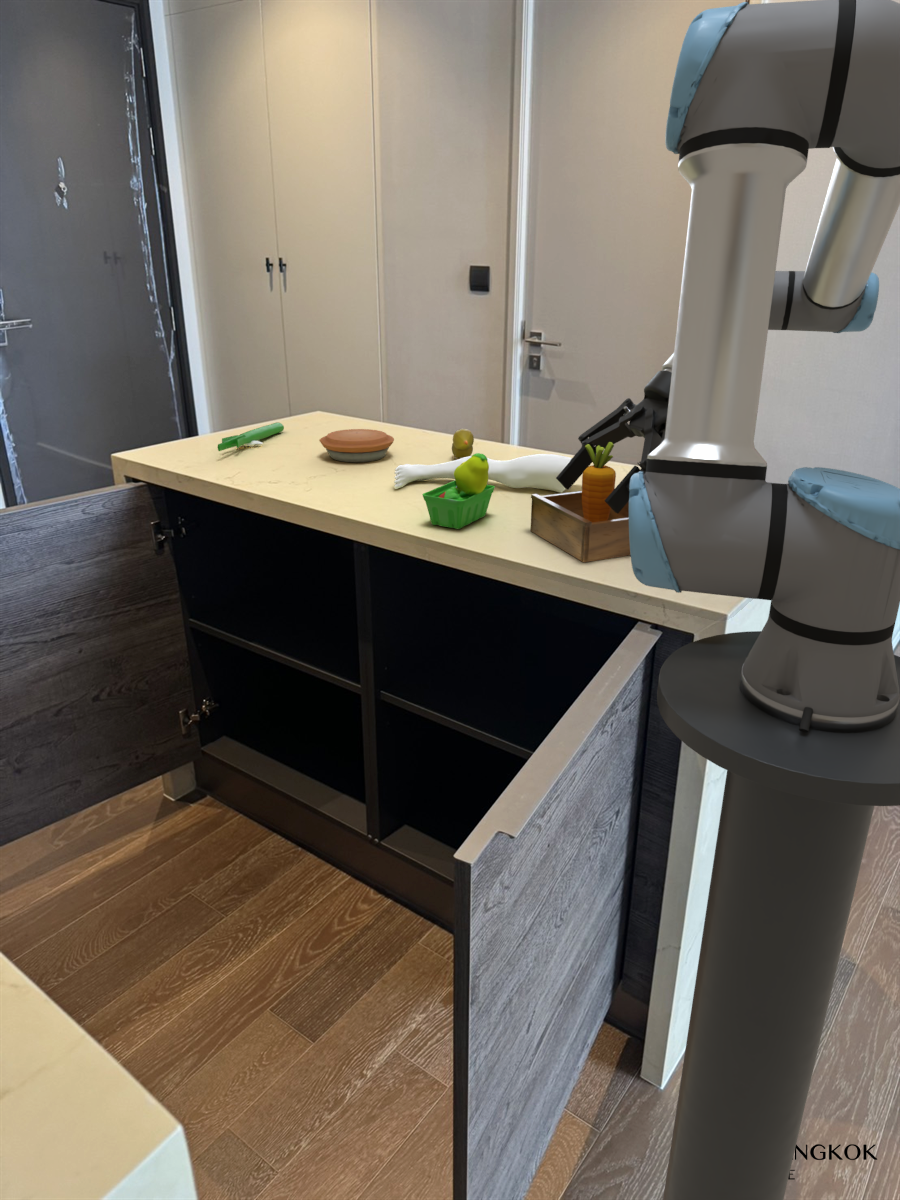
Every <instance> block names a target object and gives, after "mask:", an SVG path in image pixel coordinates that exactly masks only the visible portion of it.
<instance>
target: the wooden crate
mask: <svg viewBox="0 0 900 1200" xmlns="http://www.w3.org/2000/svg"><path fill="white" fill-rule="evenodd" d="M530 498H531V508H530V509H531V510H530V511H531V512H530V532H531V533H533V534H535V535H537V536H538V537H540V538H541V539H543V540H545V541H547V542H548V543H550V544H552V545H554V546H555V547H557V548H559V549H560V550H562V551H564V552H566V553H567V554H568V555H570V556H572V557H574V558H575V559H577V560H578V561H581V563H589V562H595V561H601V560H607V559H608V560H609V559H615V558H619V557H626V556H631V555H630V541H629V501H628V503H627V504H626V505H625V506H624V507H623V508H622V510H621V511H620V512H619V513H618V514H617V513H615V512H614V511H613V510H612V508H611V511H610V514H609V517H608V520H607V521H600V522H591V521H589V520H587V519H585V518H584V515H583V508H582V490H577V491H571V492H562V493H554V494H546V495H539V494H538V493H532V494H530Z"/></svg>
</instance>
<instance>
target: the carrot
mask: <svg viewBox="0 0 900 1200" xmlns="http://www.w3.org/2000/svg"><path fill="white" fill-rule="evenodd" d="M614 447H615V444H613V443H612V442H609V443H608V444H607V446H606V448H603V447H600V446H599V445H598V446H597V447H596V458H595V455H594V452H593V449H592V447H591V446H590V445H589V444H587V445H586V446H585V448H586V449H587V451H588V453H589V455H590V457H591V460H592V464H591V465H589V466H588V467H587V468H586V469H585V470H584V472H583V474H582V475H581V491H582V508H583V515H584V518H585V519H587V520H589V521H591V522H600V521H607V520H608V517H609V514H610V511H611V507H610V506H609V505H608V504H607V503H606V502H605V500H606V498H607V497H608V496H609V495H610V494H611V493H612V491H613V490H614V489H615V488H616V480H617V479H616V478H617V473H616V470H615V468H612V467H611V466H608V465H607V463H609V462H610V461H611V460H613V458H614V456H613V454H611V453H612V451H613V449H614ZM610 454H611V455H610Z"/></svg>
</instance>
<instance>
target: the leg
mask: <svg viewBox="0 0 900 1200" xmlns="http://www.w3.org/2000/svg"><path fill="white" fill-rule="evenodd" d="M471 457H472V455H471V456H468V457H464V458H460V459H458V458H457V459H455V460H450V461H445V462H441V463H436V464H435V463H434V464H418V463H416V464H410V463H405V464H399V465H398V466H396V468H395V469H394V475H395V476H394V477H393V478H394V479H395V480H394V481H393V483H394V486H393V487H394V489H395V490H397V489H400V488H403V487H404V486H406V485H407V484H409V483H412V482H415V481H419V482H425V481H429V480H436V479H437V480H439V479H448V480H455V477H454V471H455V469H456V468H457V467H458V466H460V464H462V463H463V462H465V461H467V460H468V459H469V458H471ZM572 458H573V457H571V456H570V457H569V456H565V455H560V454H553V453H535V454H529V455H523V456H519V457H516V458H512V459H507V460H499V459H492V458H489V457H487V459H488V460H487V462H488V464H489V470H488V481H493V482H496V483H500V484H502V485H503V486H506V487H508V488H512V489H521V488H522V489H523V488H531V489H538V490H547V491H552V492H556V493H558V494H561V493H564V492H565V491H566V490H567V489H565V487H564V486H563V485H562V484H561V483H560V482H559V481H558V480H557V479H556V477H557V476H558V475H559V474H560V473H561V471H562V470H563V469H564V468H565V467H566V466H567V464H568V463H569V462H570V460H571V459H572Z"/></svg>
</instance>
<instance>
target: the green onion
mask: <svg viewBox="0 0 900 1200" xmlns="http://www.w3.org/2000/svg"><path fill="white" fill-rule="evenodd" d="M284 429H285V426H284V424H283V423H281V422H274V423H273V422H272V423H271V424H266V425H263V426H260V427H256V428H253V429H251V430H250V429H249V430H247V431H245V432H243V433H240V434H236V435H232V436H227V437H221V442H220V443H218V444H217V451H218V452H222V451H224V450H228V449H231V448H235V447H236V448H237V449H239V448H240V447H251V448H252V447H254V446H256V445H263V444H264V443H263V441H260V440H263V439H266V438H268V437H269V438H270V437H271V436H273V435H276V434H279V433H282V432H283V431H284Z"/></svg>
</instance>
